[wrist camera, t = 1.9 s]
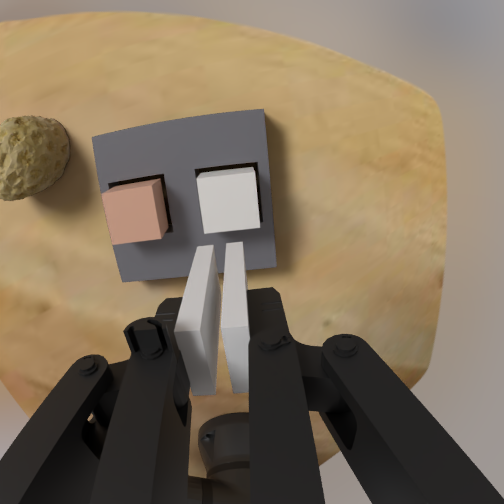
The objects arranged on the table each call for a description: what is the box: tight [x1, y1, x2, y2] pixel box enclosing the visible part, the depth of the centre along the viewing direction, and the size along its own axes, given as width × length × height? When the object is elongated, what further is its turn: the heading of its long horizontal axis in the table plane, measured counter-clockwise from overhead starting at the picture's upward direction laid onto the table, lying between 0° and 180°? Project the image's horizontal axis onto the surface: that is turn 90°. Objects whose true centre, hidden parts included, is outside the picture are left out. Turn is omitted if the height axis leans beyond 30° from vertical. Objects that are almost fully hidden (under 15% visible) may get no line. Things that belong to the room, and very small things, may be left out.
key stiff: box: [102, 179, 169, 245], centre depth 29 cm, size 5×5×4 cm
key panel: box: [92, 109, 277, 282], centre depth 32 cm, size 16×17×3 cm
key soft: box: [196, 167, 260, 234], centre depth 29 cm, size 5×5×4 cm
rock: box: [0, 116, 70, 201], centre depth 27 cm, size 10×11×10 cm
